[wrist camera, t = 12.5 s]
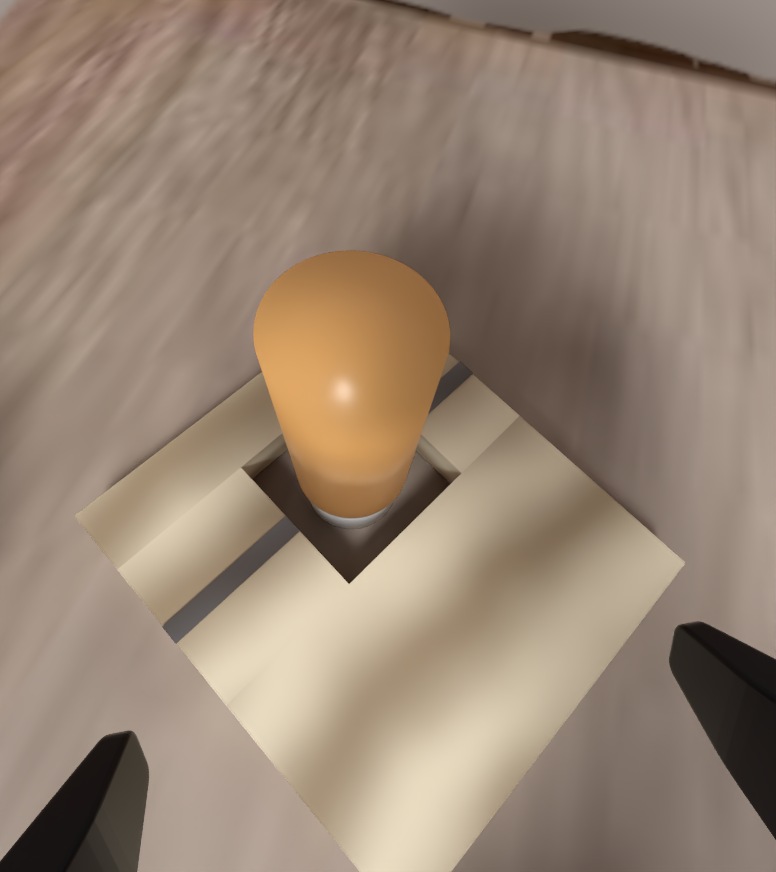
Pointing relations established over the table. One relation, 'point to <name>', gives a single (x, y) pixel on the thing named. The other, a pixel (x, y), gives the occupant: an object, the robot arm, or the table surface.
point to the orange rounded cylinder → (351, 376)
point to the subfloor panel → (390, 615)
